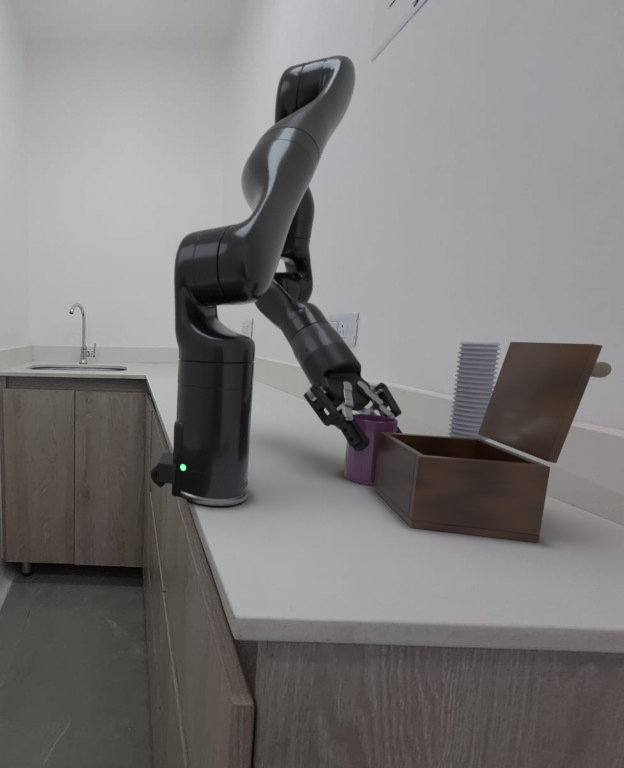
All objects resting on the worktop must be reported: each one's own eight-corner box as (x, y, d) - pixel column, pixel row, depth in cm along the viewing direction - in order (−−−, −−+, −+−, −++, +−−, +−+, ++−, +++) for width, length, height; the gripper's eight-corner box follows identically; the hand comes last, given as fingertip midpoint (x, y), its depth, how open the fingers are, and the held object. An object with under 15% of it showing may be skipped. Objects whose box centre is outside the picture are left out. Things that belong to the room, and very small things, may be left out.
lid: (592, 343, 38) (651, 353, 37) (510, 341, 48) (554, 348, 47) (546, 461, 40) (601, 473, 39) (477, 434, 50) (518, 443, 49)
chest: (410, 527, 43) (419, 456, 42) (373, 489, 54) (379, 431, 53) (538, 543, 41) (550, 466, 40) (472, 499, 51) (480, 438, 50)
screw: (519, 501, 51) (542, 343, 48) (438, 492, 53) (457, 341, 51) (481, 478, 59) (500, 342, 56) (413, 471, 61) (428, 340, 59)
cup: (351, 483, 56) (356, 420, 55) (339, 470, 62) (344, 412, 61) (398, 488, 55) (405, 423, 54) (382, 473, 60) (388, 415, 59)
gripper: (299, 340, 61) (357, 436, 51) (374, 341, 65) (442, 430, 55) (274, 371, 67) (322, 463, 57) (344, 370, 70) (401, 456, 61)
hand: (381, 446), depth 56 cm, fingers closed on cup, 6 cm apart
